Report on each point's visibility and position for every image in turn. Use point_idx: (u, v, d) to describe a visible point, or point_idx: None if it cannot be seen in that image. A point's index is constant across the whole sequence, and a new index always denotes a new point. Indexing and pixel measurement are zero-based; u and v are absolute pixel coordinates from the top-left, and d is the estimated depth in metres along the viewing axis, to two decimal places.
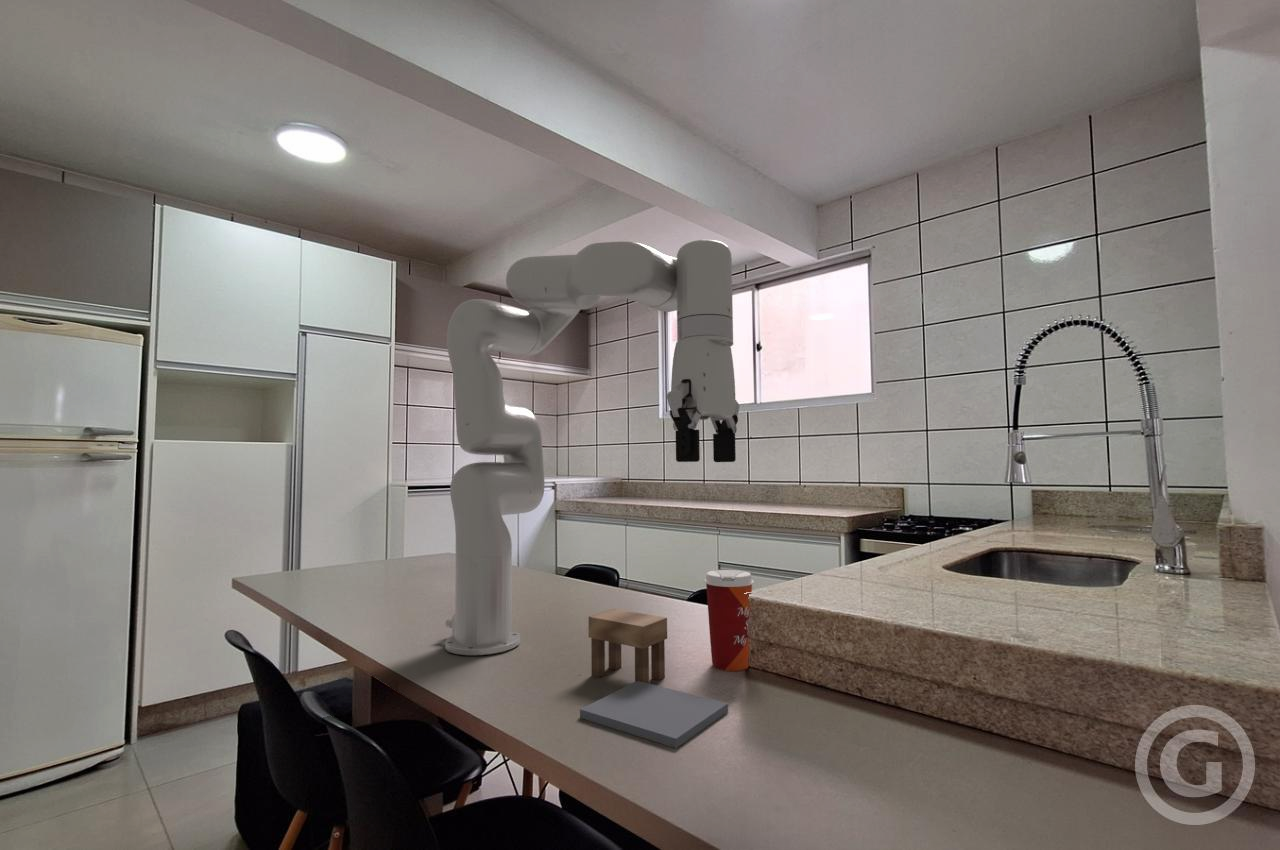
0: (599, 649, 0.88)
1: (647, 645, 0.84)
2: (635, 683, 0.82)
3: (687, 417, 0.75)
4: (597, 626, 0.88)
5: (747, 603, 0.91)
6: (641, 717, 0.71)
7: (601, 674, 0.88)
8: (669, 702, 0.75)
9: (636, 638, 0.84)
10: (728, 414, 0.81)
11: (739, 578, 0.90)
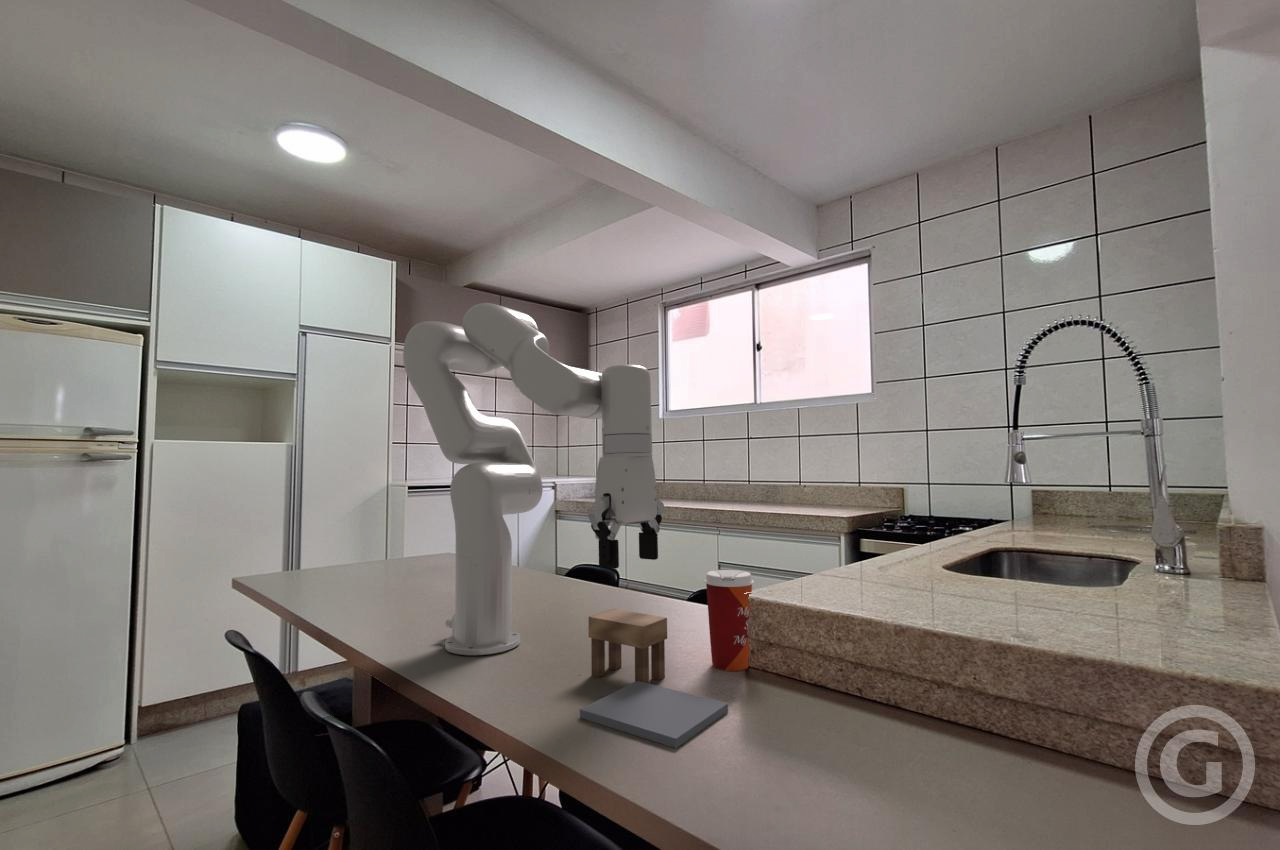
0: (599, 649, 0.88)
1: (647, 645, 0.84)
2: (635, 683, 0.82)
3: (607, 529, 0.84)
4: (597, 626, 0.88)
5: (747, 603, 0.91)
6: (641, 717, 0.71)
7: (601, 674, 0.88)
8: (669, 702, 0.75)
9: (636, 638, 0.84)
10: (649, 518, 0.90)
11: (739, 578, 0.90)
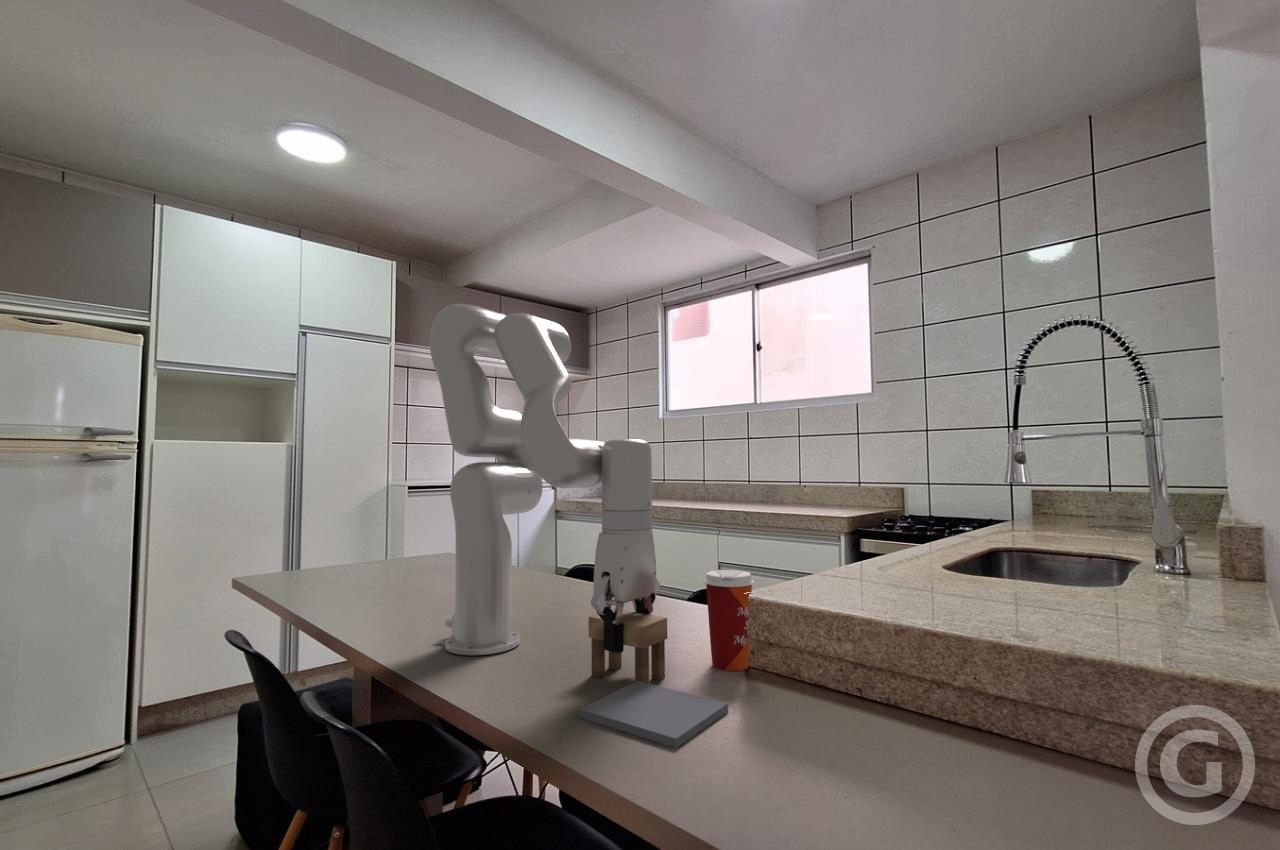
0: (599, 649, 0.88)
1: (647, 645, 0.84)
2: (635, 683, 0.82)
3: (611, 616, 0.84)
4: (597, 626, 0.88)
5: (747, 603, 0.91)
6: (641, 717, 0.71)
7: (601, 674, 0.88)
8: (669, 702, 0.75)
9: (636, 638, 0.84)
10: (648, 593, 0.90)
11: (739, 578, 0.90)
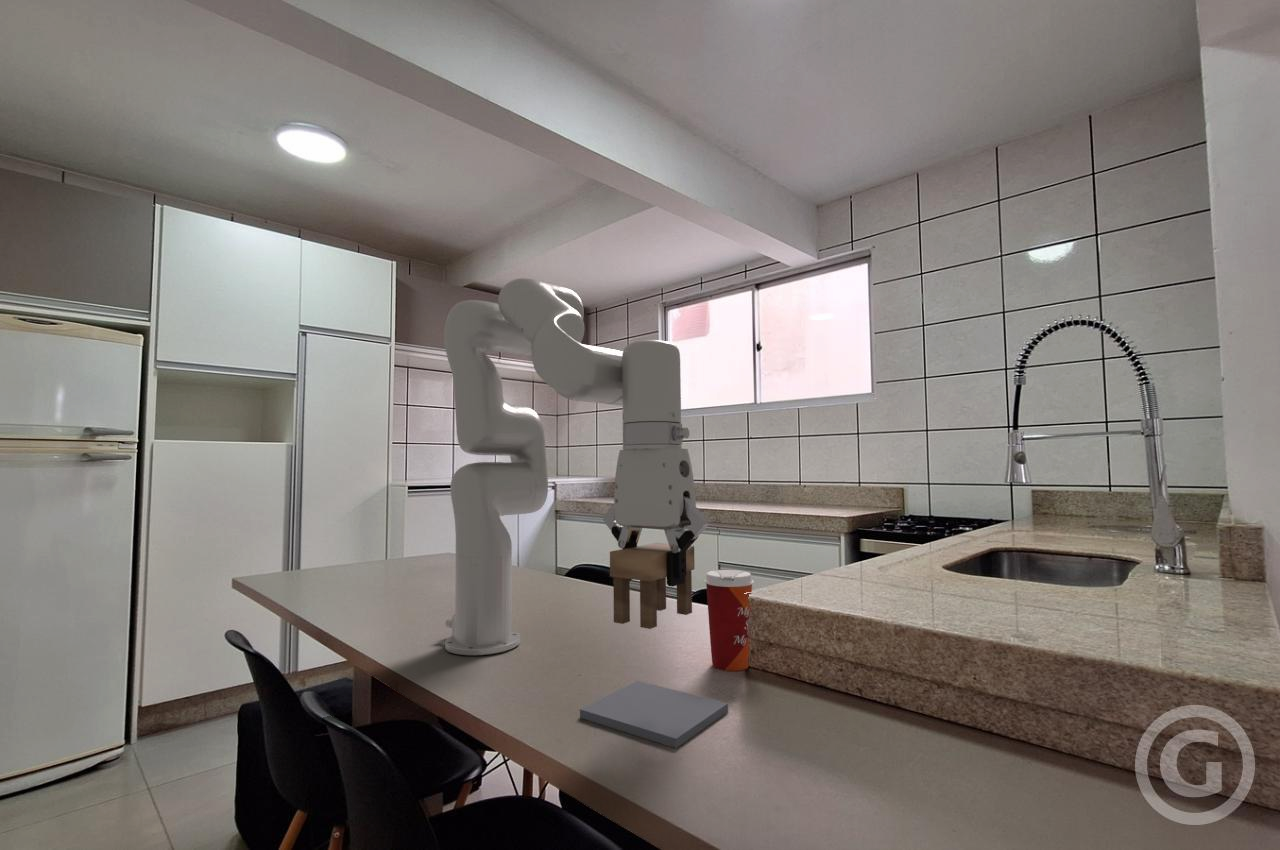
0: None
1: (616, 575, 0.73)
2: (635, 683, 0.82)
3: (619, 537, 0.78)
4: None
5: (747, 603, 0.91)
6: (641, 717, 0.71)
7: None
8: (669, 702, 0.75)
9: None
10: (660, 525, 0.73)
11: (739, 578, 0.90)
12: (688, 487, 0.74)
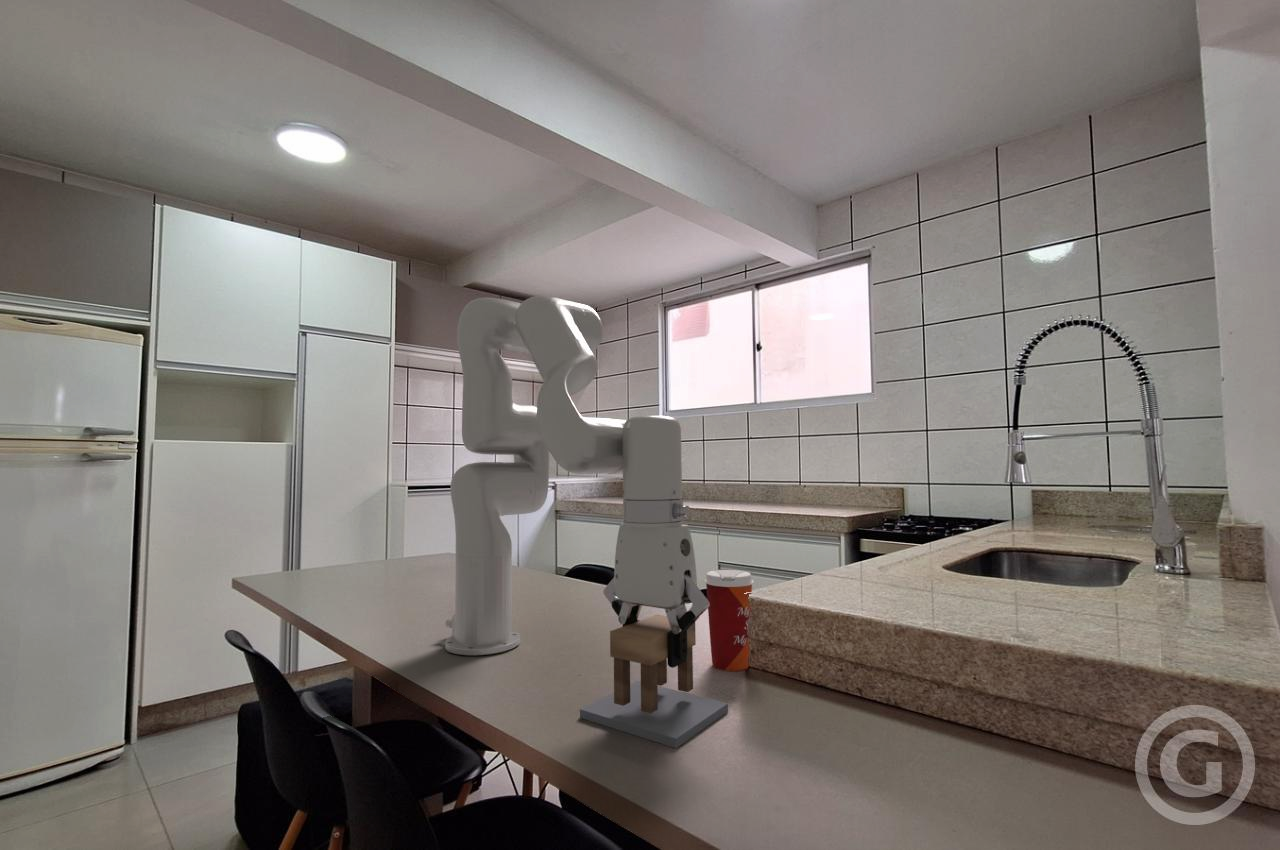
0: None
1: (616, 656, 0.72)
2: (635, 683, 0.82)
3: (619, 612, 0.77)
4: None
5: (747, 603, 0.91)
6: (641, 717, 0.71)
7: None
8: (669, 702, 0.75)
9: None
10: (661, 605, 0.72)
11: (739, 578, 0.90)
12: (689, 566, 0.73)
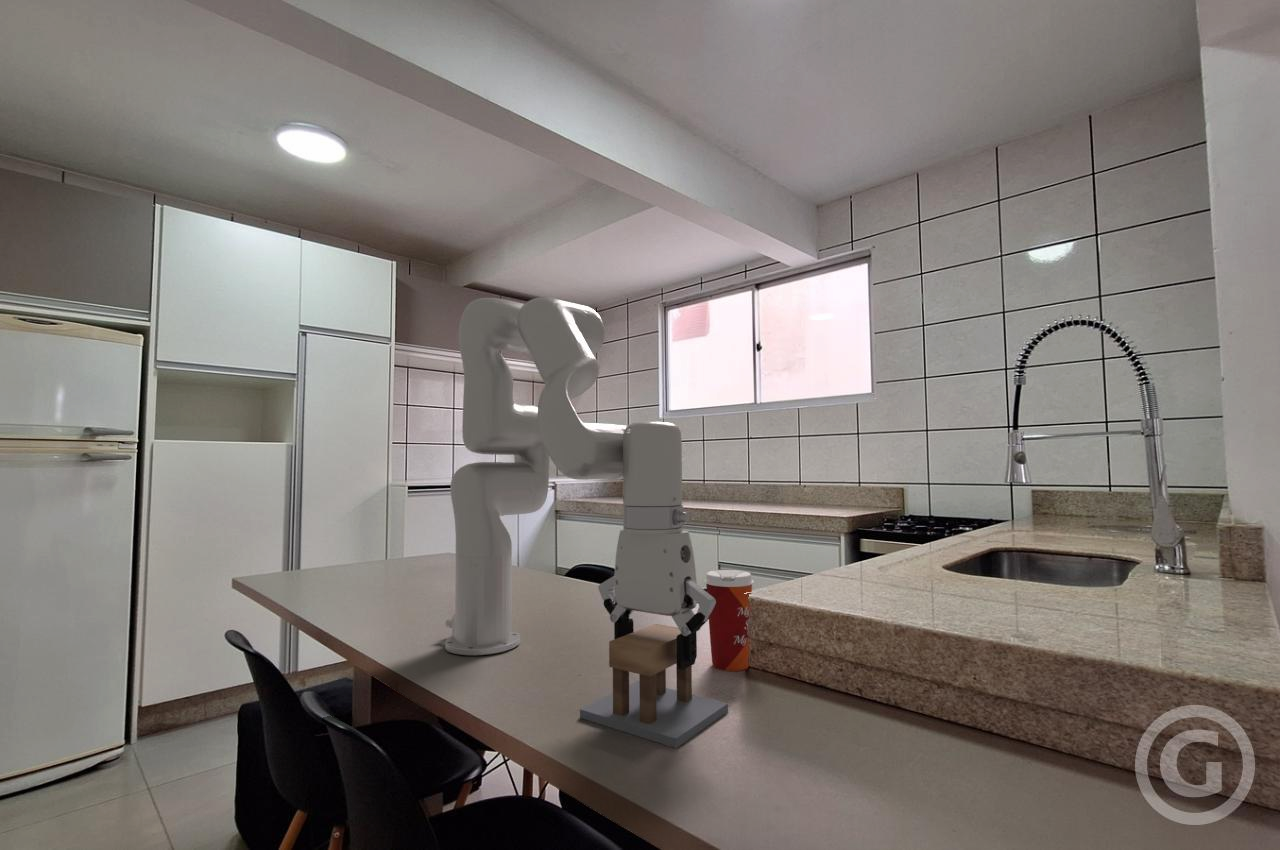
0: None
1: (615, 667, 0.72)
2: (635, 683, 0.82)
3: (612, 609, 0.78)
4: None
5: (747, 603, 0.91)
6: None
7: None
8: (669, 702, 0.75)
9: None
10: (661, 612, 0.72)
11: (739, 578, 0.90)
12: (689, 572, 0.73)
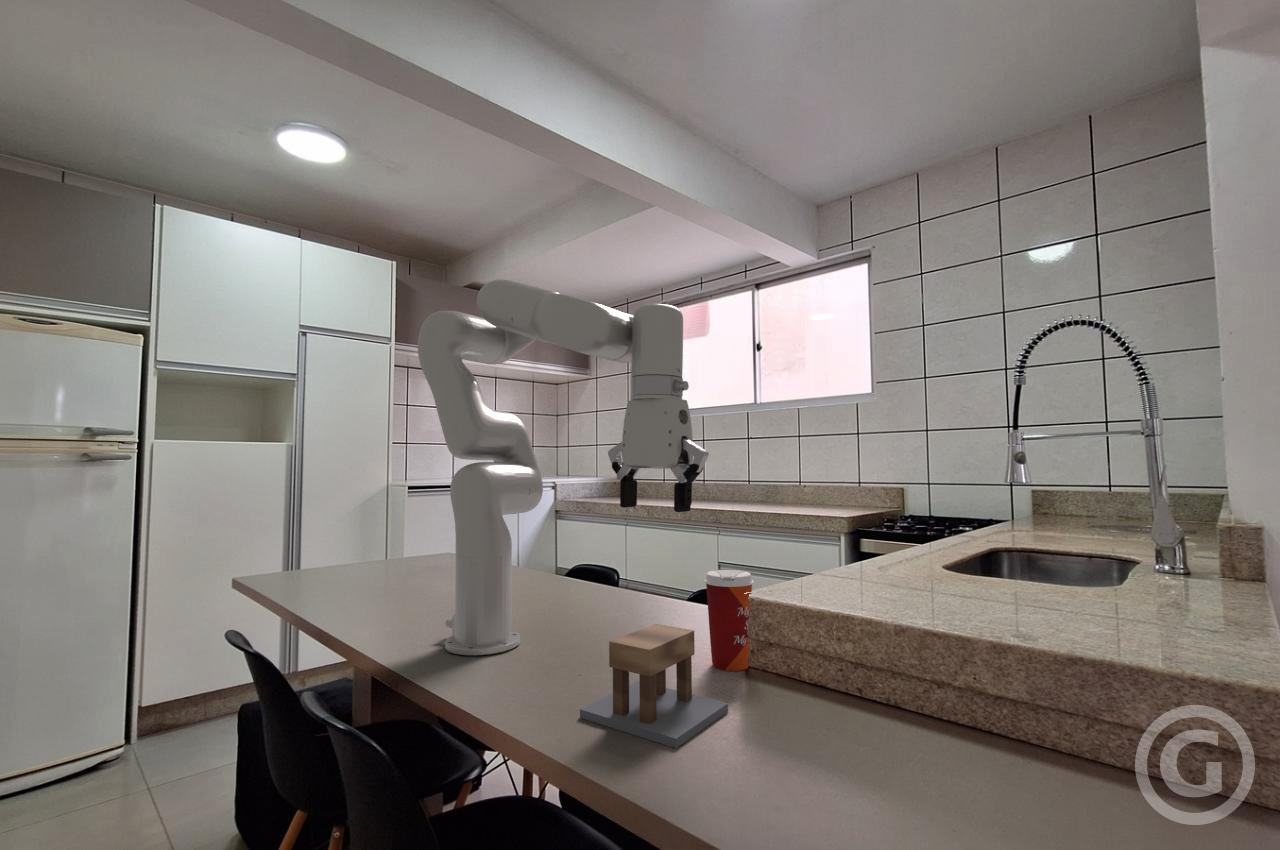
0: None
1: (615, 667, 0.72)
2: (635, 683, 0.82)
3: (619, 469, 0.90)
4: None
5: (747, 603, 0.91)
6: None
7: None
8: (669, 702, 0.75)
9: None
10: (660, 465, 0.84)
11: (739, 578, 0.90)
12: (686, 433, 0.84)
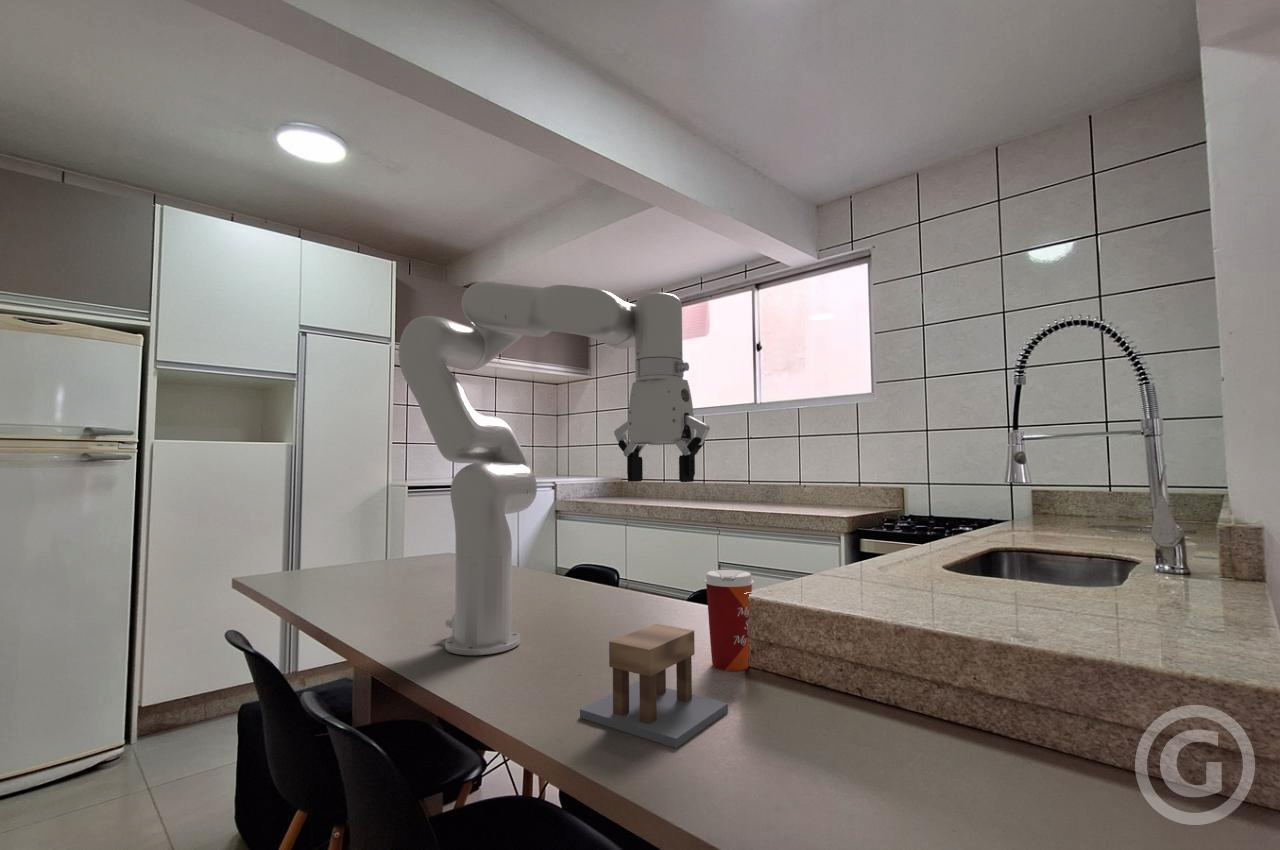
0: None
1: (615, 667, 0.72)
2: (635, 683, 0.82)
3: (625, 447, 0.97)
4: None
5: (747, 603, 0.91)
6: None
7: None
8: (669, 702, 0.75)
9: None
10: (665, 439, 0.91)
11: (739, 578, 0.90)
12: (688, 410, 0.92)
